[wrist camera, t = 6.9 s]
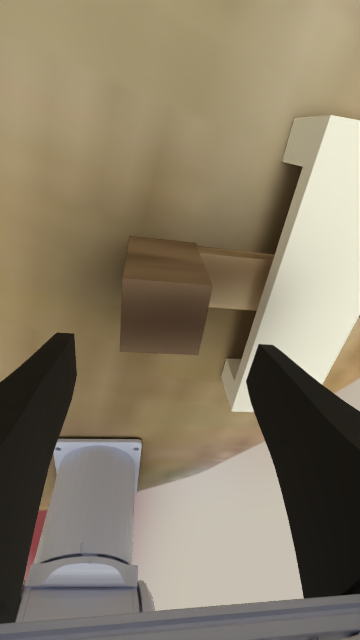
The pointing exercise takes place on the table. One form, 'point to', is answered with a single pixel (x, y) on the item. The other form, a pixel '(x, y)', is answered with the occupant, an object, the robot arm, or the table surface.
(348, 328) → the shelf
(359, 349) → the table surface
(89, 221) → the table surface
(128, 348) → the brown wooden mallet
